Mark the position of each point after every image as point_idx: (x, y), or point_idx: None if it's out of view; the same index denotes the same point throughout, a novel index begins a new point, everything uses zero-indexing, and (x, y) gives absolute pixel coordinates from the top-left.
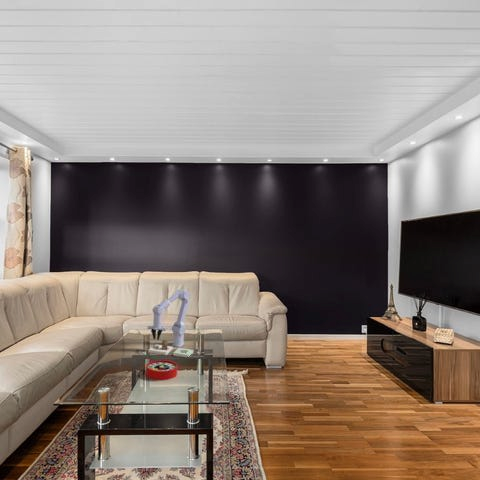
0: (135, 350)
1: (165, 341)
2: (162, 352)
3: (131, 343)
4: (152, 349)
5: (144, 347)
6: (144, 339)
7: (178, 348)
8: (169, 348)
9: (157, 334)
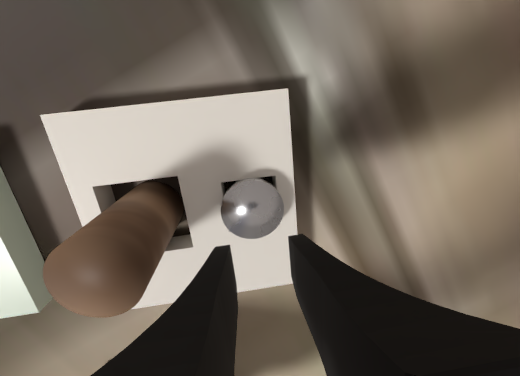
0: (428, 86)
1: (70, 264)
2: (97, 109)
3: (512, 237)
4: (252, 129)
5: (377, 208)
6: None
7: (26, 299)
8: None
9: (207, 318)
